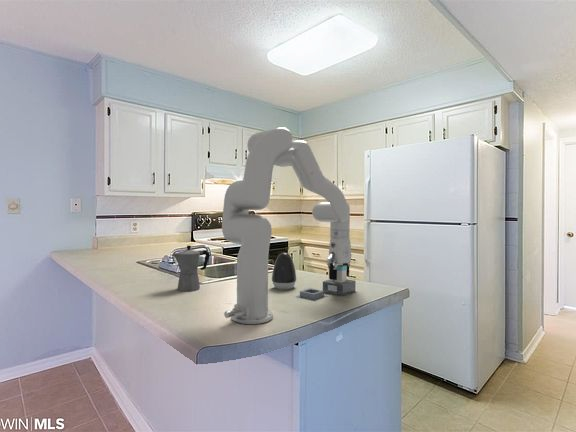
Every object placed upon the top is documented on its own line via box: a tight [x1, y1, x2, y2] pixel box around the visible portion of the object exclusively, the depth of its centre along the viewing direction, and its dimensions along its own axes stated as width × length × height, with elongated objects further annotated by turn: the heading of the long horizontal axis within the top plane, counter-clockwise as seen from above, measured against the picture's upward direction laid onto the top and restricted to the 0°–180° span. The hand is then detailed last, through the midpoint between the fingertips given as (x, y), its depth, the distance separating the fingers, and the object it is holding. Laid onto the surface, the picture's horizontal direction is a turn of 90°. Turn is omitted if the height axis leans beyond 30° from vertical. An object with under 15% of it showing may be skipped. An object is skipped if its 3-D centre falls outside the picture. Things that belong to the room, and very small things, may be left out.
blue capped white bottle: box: [334, 264, 348, 283], centre depth 132 cm, size 4×4×10 cm
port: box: [322, 278, 356, 297], centre depth 132 cm, size 10×9×5 cm
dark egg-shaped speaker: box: [271, 252, 297, 291], centre depth 139 cm, size 10×10×15 cm
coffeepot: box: [172, 244, 211, 293], centre depth 138 cm, size 15×9×18 cm, turn 121°
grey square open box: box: [295, 287, 329, 302], centre depth 125 cm, size 9×9×3 cm
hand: (339, 277), depth 132 cm, fingers open, 9 cm apart
